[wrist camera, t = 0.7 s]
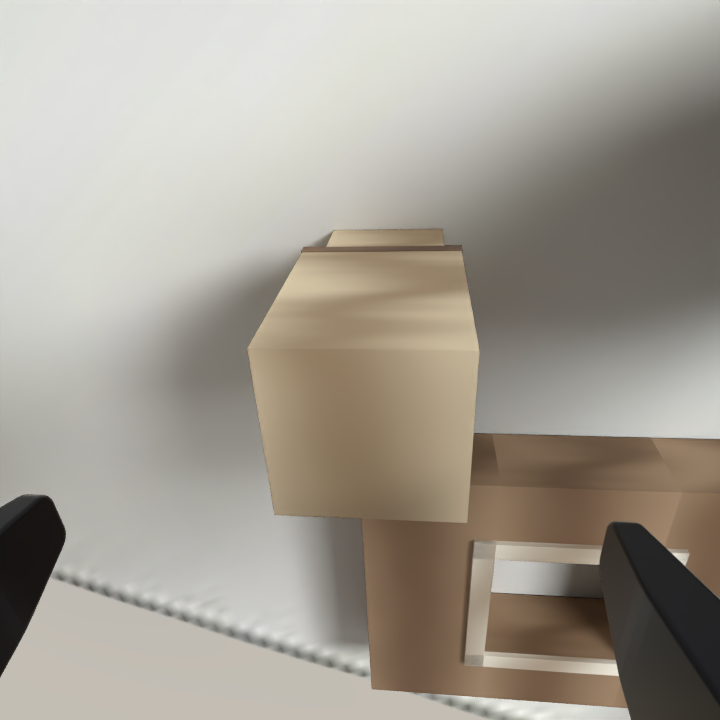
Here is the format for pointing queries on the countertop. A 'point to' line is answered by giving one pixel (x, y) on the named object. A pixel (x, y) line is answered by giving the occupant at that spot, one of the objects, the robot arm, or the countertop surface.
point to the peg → (370, 380)
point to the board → (535, 544)
